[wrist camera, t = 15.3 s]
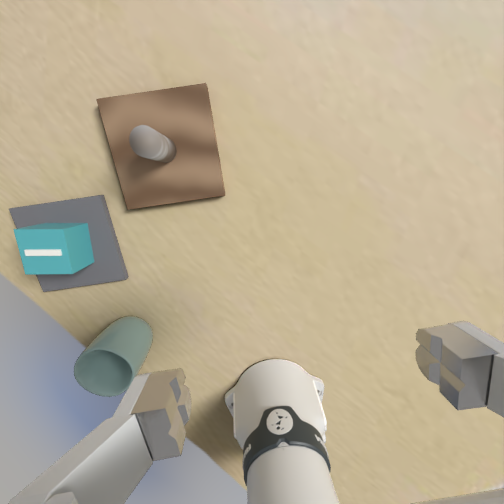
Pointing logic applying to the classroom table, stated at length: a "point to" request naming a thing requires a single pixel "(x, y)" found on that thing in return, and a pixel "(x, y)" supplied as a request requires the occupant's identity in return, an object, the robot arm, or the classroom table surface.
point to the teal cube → (54, 248)
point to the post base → (180, 128)
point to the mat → (101, 236)
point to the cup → (114, 357)
